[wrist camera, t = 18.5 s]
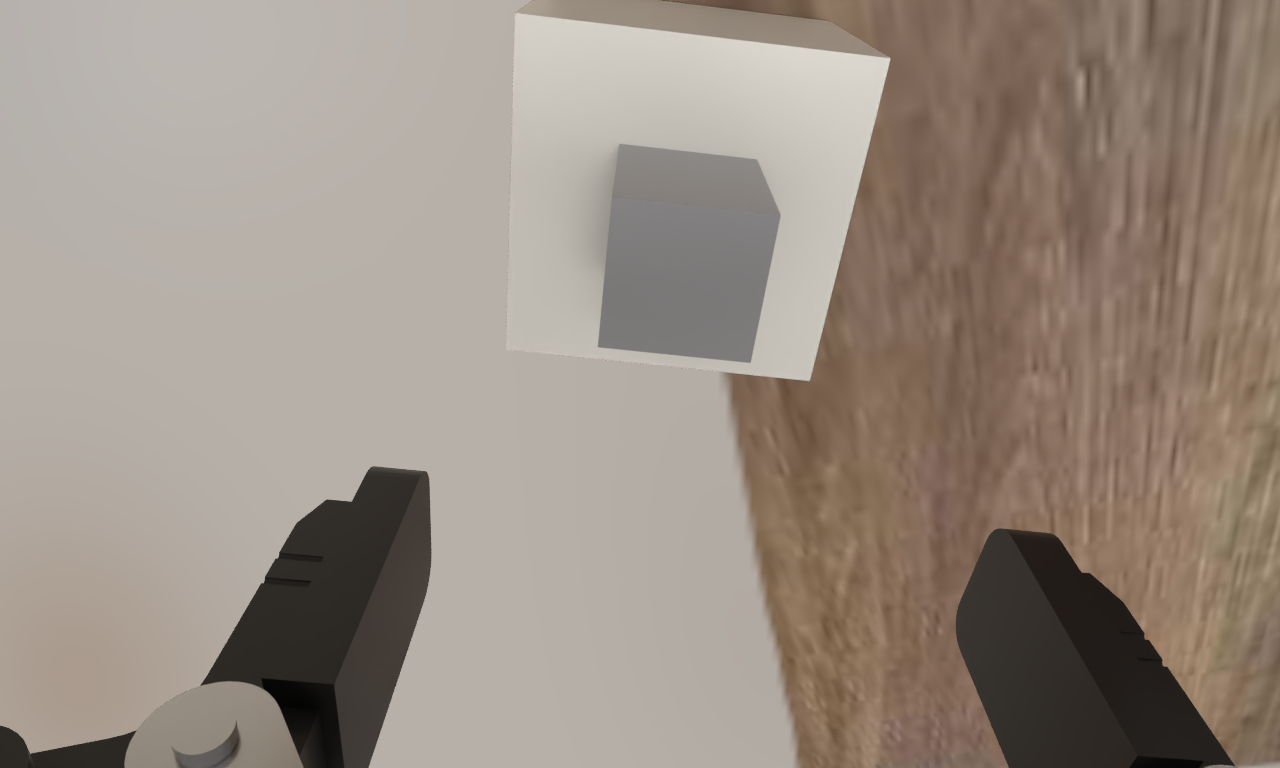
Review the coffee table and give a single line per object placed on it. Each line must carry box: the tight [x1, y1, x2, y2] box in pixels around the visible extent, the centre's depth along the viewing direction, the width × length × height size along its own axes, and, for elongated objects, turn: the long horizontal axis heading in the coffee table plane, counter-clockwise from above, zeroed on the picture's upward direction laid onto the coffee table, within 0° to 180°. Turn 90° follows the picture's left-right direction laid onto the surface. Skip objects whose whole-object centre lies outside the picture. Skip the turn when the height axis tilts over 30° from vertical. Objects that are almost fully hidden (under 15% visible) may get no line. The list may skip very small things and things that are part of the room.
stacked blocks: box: [506, 0, 891, 381], centre depth 26 cm, size 10×10×14 cm
